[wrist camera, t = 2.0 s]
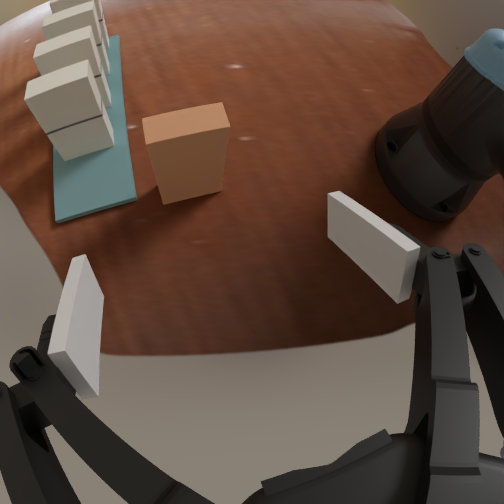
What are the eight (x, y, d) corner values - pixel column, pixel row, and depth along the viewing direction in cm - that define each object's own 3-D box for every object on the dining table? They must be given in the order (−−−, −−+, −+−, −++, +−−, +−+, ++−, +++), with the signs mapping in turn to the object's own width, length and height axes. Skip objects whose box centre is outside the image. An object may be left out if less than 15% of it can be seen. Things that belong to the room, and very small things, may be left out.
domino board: (137, 200, 31) (135, 197, 30) (58, 223, 29) (55, 221, 28) (119, 38, 36) (118, 34, 35) (63, 55, 34) (62, 52, 34)
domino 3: (111, 106, 32) (89, 37, 22) (65, 121, 31) (32, 58, 20) (110, 92, 33) (91, 25, 22) (65, 106, 31) (36, 44, 21)
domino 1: (109, 48, 34) (95, -12, 24) (69, 61, 33) (49, 3, 23) (109, 39, 35) (96, -19, 24) (70, 51, 34) (52, -4, 23)
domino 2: (109, 74, 33) (92, 9, 23) (66, 88, 32) (41, 27, 22) (109, 63, 34) (93, 0, 23) (67, 76, 33) (44, 17, 22)
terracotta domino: (221, 190, 32) (230, 126, 22) (163, 204, 31) (146, 144, 20) (215, 170, 33) (222, 102, 22) (159, 184, 31) (142, 118, 21)
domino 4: (114, 145, 31) (87, 76, 20) (64, 161, 30) (23, 100, 19) (113, 128, 31) (88, 59, 21) (64, 144, 30) (27, 81, 20)
